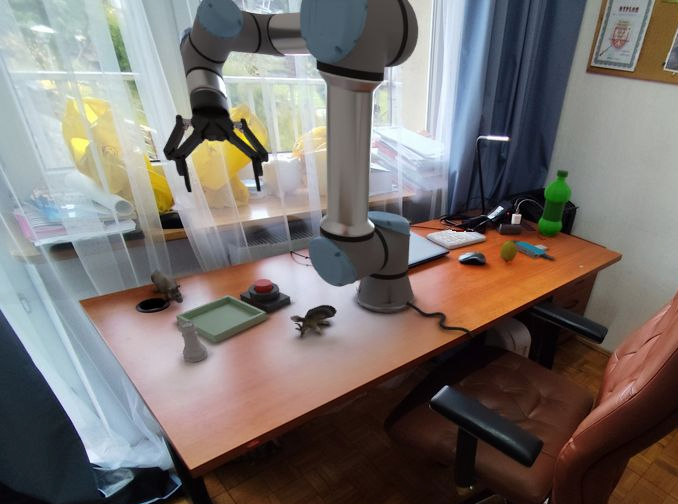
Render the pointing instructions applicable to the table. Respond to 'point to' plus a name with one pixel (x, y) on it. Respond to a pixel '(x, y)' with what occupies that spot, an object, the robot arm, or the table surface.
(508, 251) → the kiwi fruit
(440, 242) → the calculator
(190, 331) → the rook chess piece
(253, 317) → the green tray
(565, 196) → the plastic bottle
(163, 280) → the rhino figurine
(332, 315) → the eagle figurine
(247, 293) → the control box
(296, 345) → the table surface
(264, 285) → the button
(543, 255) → the blue usb hub
